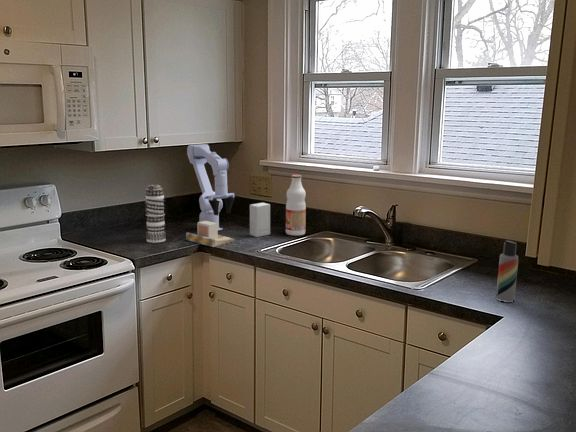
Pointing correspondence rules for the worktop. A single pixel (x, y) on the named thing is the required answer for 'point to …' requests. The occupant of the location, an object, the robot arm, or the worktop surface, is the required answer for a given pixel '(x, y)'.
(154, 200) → the grey striped cylinder
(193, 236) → the tan flat slab
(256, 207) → the skincare box
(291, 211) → the fruit juice
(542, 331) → the worktop surface
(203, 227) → the carton
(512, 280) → the lotion bottle
